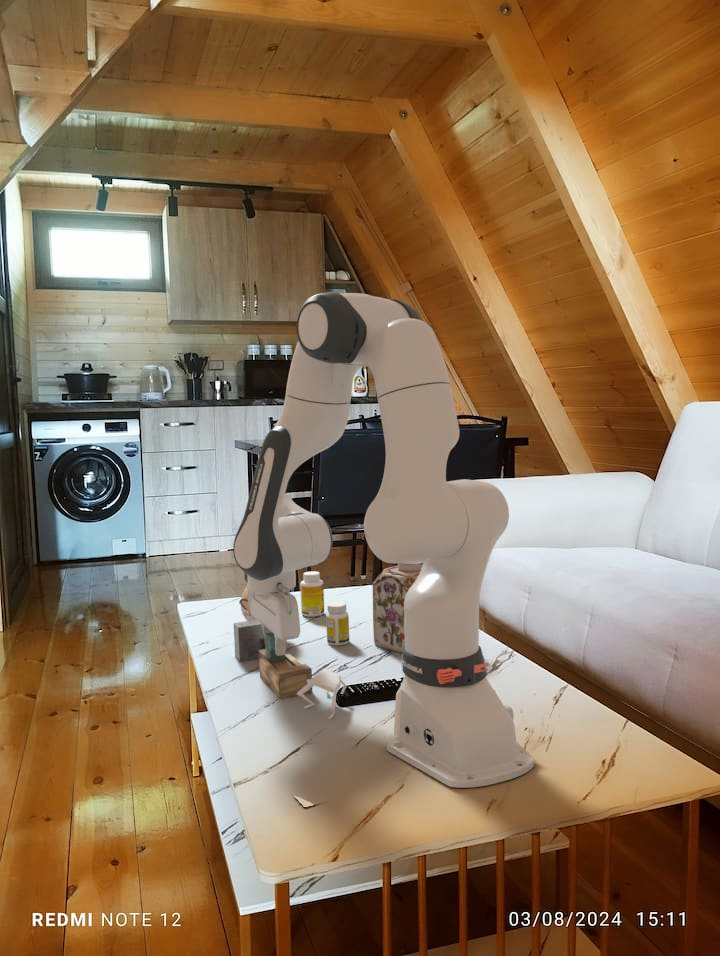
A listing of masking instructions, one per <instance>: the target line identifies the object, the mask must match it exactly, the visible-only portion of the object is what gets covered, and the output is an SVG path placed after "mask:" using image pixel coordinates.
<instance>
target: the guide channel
mask: <svg viewBox="0 0 720 956" xmlns="http://www.w3.org/2000/svg"><path fill="white" fill-rule="evenodd" d="M285 659H286V660H287V661H288V662H289V663H290V664H292V665H293V666H290V667H284V668H279V669H276V668H275V667H274V666H273V665H272V664H271V663H270V662H269V661H268V660H267V659H266V658H261V659H258V662H259V678H260V679H261V681H263V682H264V683H265V684H266V685H267V686H268V688H269V689H271V691H272V692H273V693H274V694H275V695H276V696H277V697H278V698H279V699H280V700H282V699H287V698H293V697H298V696H299V695H297V694H296V693H298V692H299V691H300V690H301V689H302V688H303V687H304V686H305V685H307V681H306V680H307V679H311V678H313V676H312V675H313V671H312V668H311V667H310V666H309V665H308V664H307V663H301V662H300V661H299V660H298V659H296V658H295V656H293V655H292V654H291V653H285ZM307 694H313V687H312V688H310V689H309V690H308V691H307V692H305V693H304V694H303V695H307Z"/></svg>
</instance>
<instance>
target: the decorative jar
mask: <svg viewBox="0 0 720 956" xmlns="http://www.w3.org/2000/svg"><path fill="white" fill-rule="evenodd" d="M422 566H423V564H422V563H419V564H397V565H394V566H390V567H387V568H384V569H383V570H381V571H382V572H380V574H379V575H377V576H376V579H375V580H374V581H373V583H372V624H373V627H372V630H373V641H374V643H373V644H374V645H375V646H378V647H381V648H384V649H388V650H389V651H394V652H397V653H400V654H402V649H403V647H404V645H405V627H404V600H405V596H406V594H407V592H408V590H409V589H410V587H411V586H412V585H413V584H414V582H415V581H416V579H417V578H418V576H419V574H420V571H421V569H422Z"/></svg>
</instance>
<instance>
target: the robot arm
mask: <svg viewBox="0 0 720 956" xmlns="http://www.w3.org/2000/svg"><path fill="white" fill-rule="evenodd" d="M296 336H297V343H296V346H295V348H294V353H293V356H292V359H291V363H290V368H289V371H288V377H287V382H286V389H285V397H284V403H283V406H282V408H281V412H280V415H279V417H278V420H277V421H276V423H275V425H274V426H273V428H272V429H271V430H270V431H269V432H268V433H267V435H266V436H265V438H264V440H263V442H262V445H261V448H260V452H259V454H258V458H257V463H256V466H255V471H254V475H253V479H252V482H251V487H250V490H249V494H248V499H247V502H246V508H245V511H244V514H243V517H242V520H241V523H240V524H239V527H238V529H237V532H236V534H235V538H234V541H233V550H232V551H233V557H234V560H235V562H236V565H237V566H238V567H239V569H240V570H241V571H242V572H243V580H244V582H245V583H246V587H247V593H248V602H249V608H250V612H251V615H252V616H254V617H255V618H256V619H257V620H258V621H259V622H261V623H262V629H263V633H264V637H265V633H270V632H272V633H274V637H275V645H274V653H275V654H276V655H277V656H281V655H284V654H286V645H287V641H289V640H295V639H298V638H300V634H301V625H300V624H301V623H300V612H299V605H298V600H297V598H296V596H295V595H294V594H292V593H290V592H291V590H292V589H294V588H295V587H296V586H297V584H296V583H297V582H296V580H297V579H296V577H297V576H296V571H298V570H302V569H303V568H309V567H312V566H316V565H318V564H320V563H323V562H325V561H326V560H328V558H329V556H330V555H331V552H332V549H333V533H332V529H331V526H330V524H329V523H328V521H327V520H326V519H325V518H324V517H323V516H322V515H320V514H318V513H316V512H315V513H313V512H311V511H308V510H306V509H304V507H301V506H300V505H298V504H296V502H294V500H293V499H292V497H291V495H290V494H289V493H288V492H287V488H288V484H289V481H290V479H291V477H292V475H293V473H294V472H295V471H296V470H297V469H298V468H299V467H300V466H301V465H302V464H304V463H305V462H306V461H308V460H309V459H311V458H313V456H316V455H318V454H320V453H321V452H323V451H325V450H327V449H329V448H330V447H332V446H333V445H335V443H337V442H338V441H339V439H341V438H342V436H343V435H344V432H345V430H346V429H347V424H348V423H349V416H350V410H351V401H352V400H351V399H352V394H353V393H352V392H353V383H354V378H355V375H356V374H357V372H358V371H359V370H360V369H361V368H362V367H368V368H369V369H370V371H371V373H372V376H373V380H374V386H375V391H376V392H375V393H376V397H377V403H378V408H379V413H380V419H381V425H382V432H383V438H384V445H385V446H384V447H385V463H384V471H383V477H382V480H381V481H382V482H381V484H380V487H379V490H378V492H377V495H375V498H374V499H373V500H372V501H371V503H370V504H369V506H368V508H367V509H366V512H365V516H364V520H363V521H364V522H363V530H364V532H363V533H364V537H365V540H366V543H367V545H368V547H369V549H370V550H371V551H372V553H373V554H374V555H375V556H376V558H378V559H379V560H381V561H382V562H385V563H387V564H395V565H396V564H397V565H398V564H419V563H421V564H422V565H423V566H422V569H421V571H420V574H419V576H418V578H417V579H416V581H415V582H414V584H413V585H412V586H411V587H410V589H409V590H408V592H407V594H406V596H405V600H404V627H405V645H404V647H403V649H402V653H401V664H402V665H401V667H402V668H401V669H402V670H401V671H402V673H403V674H404V676H403V679H402V682H401V683H400V686H399V688H398V690H397V692H396V694H395V704H394V705H395V706H394V725H393V736H392V737H391V738H390V739H388V741H387V742H386V751H388V752H389V753H391V754H392V755H394V756H396V757H397V758H399V759H401V760H403V761H404V762H406V763H407V764H409V765H411V766H413V767H415V768H417V769H418V770H419V771H422V772H423V773H425V774H427V775H429V776H430V777H432V778H434V779H435V780H437V781H439V782H441V783H442V784H444V785H446V786H448V787H450V788H459V789H460V788H466V789H468V788H478V787H485V786H490V785H494V784H499V783H502V782H505V781H509V780H512V779H515V778H517V777H520V776H523V775H524V774H526V773H528V772H529V771H530V770H532V768H534V767H535V759H534V757H533V756H532V755H531V753H529V752H528V751H527V750H526V749H525V748H524V747H523V745H521V744H520V743H519V741H517V734H516V728H515V723H514V710H513V708H512V706H511V705H509V704H507V705H504V704H503V702H502V700H501V699H500V696H499V695H498V694H497V692H496V689H494V688H493V686H492V685H491V683H490V681H489V680H488V677H487V675H488V672H489V670H490V669H489V668H486V667H487V666H489V665H490V664H489V663H488V662H486V660H485V656H484V655H483V650H482V647H481V646H480V643H479V641H480V640H479V638H480V633H479V632H480V631H479V630H480V627H479V625H480V621H479V620H480V598H481V597H480V596H481V590H482V585H483V581H484V577H485V572H486V569H487V566H488V563H489V561H490V557H491V554H492V552H493V550H494V548H495V545H496V543H497V542H498V540H499V539H500V538H501V537H502V536H503V534H504V533H505V531H506V529H507V528H508V524H509V518H510V511H509V506H508V505H509V504H508V502H507V499H506V497H505V496H504V494H503V493H502V491H501V490H500V489H499V488H498V487H497V486H496V485H494V484H492V483H490V482H486V481H480V480H474V479H465V478H464V479H456V480H449V481H447V463H448V459H449V456H450V452H451V450H453V448H455V446H456V444H457V443H458V441H459V439H460V427H459V426H460V425H459V421H458V415H457V411H456V406H455V401H454V397H453V391H452V386H451V381H450V377H449V373H448V368H447V366H446V362H445V359H444V355H443V352H442V350H441V347H440V344H439V342H438V339H437V337H436V334H435V332H434V330H433V329H432V327H431V326H430V325H429V324H428V323H427V322H425V321H423V320H422V318H421V316H420V315H419V313H418V311H417V310H416V309H415V308H414V307H412V306H411V305H410V304H408V303H406V302H403V301H401V300H398V299H396V298H389V299H387V298H385V297H381V296H374V295H370V294H368V293H367V294H366V293H358V292H344V293H343V292H342V293H339V292H336V291H328V292H321V293H317V294H314V295H312V296H310V297H308V298H307V299H306V300H305V301H304V302H303V304H302V305H301V307H300V309H299V312H298V315H297V318H296Z"/></svg>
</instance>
